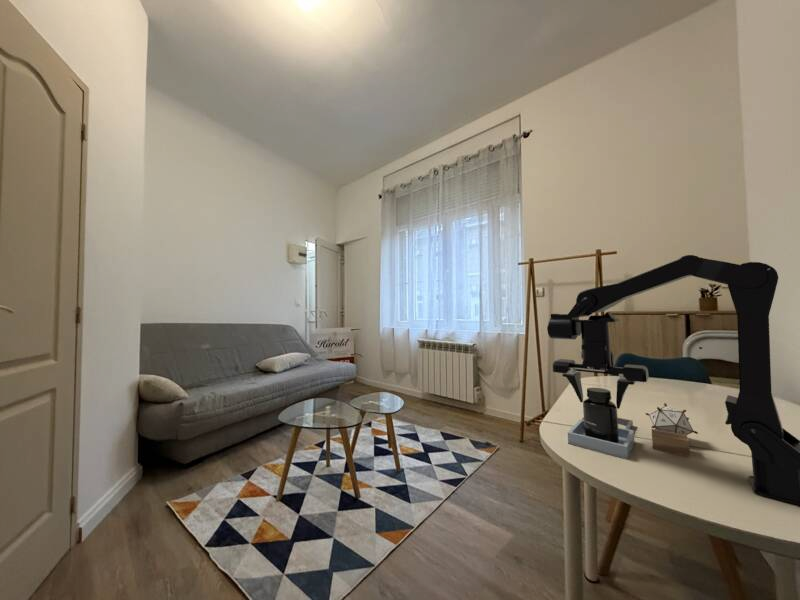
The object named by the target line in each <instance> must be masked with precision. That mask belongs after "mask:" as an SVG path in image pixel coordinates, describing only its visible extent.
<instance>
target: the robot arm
mask: <svg viewBox="0 0 800 600" xmlns="http://www.w3.org/2000/svg"><path fill="white" fill-rule="evenodd" d="M689 277H695V278H699V279H703V280H708V281H712V282H716V283H720V284H723V285H727V287H728V291H729V293H730V298H731V301H732V304H733V307H734V310H735V312H736V319H737V346H738V349H737V350H738V351H737V352H738V353H737V354H738V377H739V378H738V380H739V381H738V382H739V392H738V395H737V396H732V395H729V394H728V395H727V396H726V398H725V401H724V404H725V408H726V412H727V415H726V419H725V422H724V423H725V425H730V429H731V432H732V434H733V435H734V437H736V439H738V440H739V441H740V442H741V443H743V444H745V445H747V447H748V448H749V450H750V452H751V455H750V456H751V462H752V463H751V464H752V465H751V467H752V475H748V476H747V479H748V481H749V485H750V487H751V490H752V492H753V493H754V494H756V495H760V496H763V497H765V498H766V497H767V498H770V499H774V500H779V501H782V502H786V503H788V504H789V503H790V504H794V505H796V506H797V505H798V506H800V439H798V438H797V437H796V436H794V435H793V434H791V433H790V432H789V431H787V430H786V429H785V428H784V427H783V424H782V421H781V418H780V415H779V411H778V408H777V405H776V402H775V399H774V395H773V393H772V375H771V374H772V373H771V372H772V371H771V341H770V340H771V338H770V317H769V316H770V312H771V309H772V305H773V301H774V297H775V294H776V290H777V286H778V281H779V274H778V272H777V270H776V269H775V268H774V267H773V266H771V265H769V264H767V263H763V262H759V261H748V262H743V263H741V264H738V263H733V262H728V261H722V260H717V259H710V258H704V257H699V256H698V255H694V254H686V255H683V256H681V257H679V258H678V259H676V260H674V261H671V262H668V263H665V264H663V265H661V266H658V267H656V268H652V269H650V270H648V271H645V272H642V273H640V274H638V275H635V276H632V277H630V278H627V279H625V280H621V281H620V282H616V283H612V284H609V285H608V284H607V285H602V286H597V287H592V288H589V289H584V290H582V291H580V292H579V293H578V294H577V297H576V300H575V302H576V303H575V304H573V305H574V306H572V308H571V309H570V311H569V312H568V313H567V314H563V313H551V314H550V318H549V320H548V323H547V328H546V329H547V334H548V337H549V338H551V339H553V340H554V339H556V340H557V339H558V340H576V339H577V338H578V337H579V336H581V355H580V356H581V359H582V363H576V361H575V360H574V359H566V358H565V359H563V358H559V359H556V360H555V361H553V363H552V372H553V373H559V374H562V377H564V378H566V379H567V380H568V382H569V384H570V385H571V386H572V388H573V391H574V392H575V394H576V396H577V398H578V401H579V402H580V403H583V402H584V392H583V385H582V380H581V379H582V378H581V377H582V372H585V373H594V374H604V375H605V374H606V375H614V376H618V377H619V378H618V379H617V381H616V396H615V397H616V400H615V401H616V403H615V405H616V407H617V410H618V409H620V408H621V406H622V402H623V400H624V399H623V398H624V396H625V393H626V391H627V389H628V387H629V386H630V385H631V386H632V385H633V386H634V385H635V383H637V382H638V383H639V382H640V383H646V382H647V381H648V380H649V377H650V376H649V369H648V367H647V366H646V365H640V364H639V365H638V364H626V363H625V364H624V366H623V367H622V366H621V367H620V366H615V353H614V352H613V351H612V350H611V342H610V341H611V340H610V325H609V323H616V322H617V323H618V322H620V319H619V318H618V317H616V316H615V315H614V314H613V313H612V312H610V311H607V310H609V309H611V308H613V307H615V306H616V305H618V304H620V303H621V302H622V301H624V300H626V299H628V298H631V297H634V296H636V295H640V294H643V293H646V292H649V291H651V290H654V289H657V288H660V287H663V286H667V285H669V284H672V283H674V282H678V281H680V280H683V279H686V278H689ZM605 311H606V312H605ZM603 312H605V313H604V314H603V315H601V314H600V313H603ZM596 313H597V315H593V314H596ZM598 314H600V315H598ZM584 317H585V318H587V317H588V319H580V318H584Z"/></svg>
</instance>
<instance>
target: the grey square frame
mask: <svg viewBox="0 0 800 600" xmlns="http://www.w3.org/2000/svg"><path fill="white" fill-rule="evenodd" d="M580 420H584V416H583V417H582V418H581V419H580ZM633 423H634V421H633V420H631V419H626V418H622V417H618V425H622V426H625V429H628V430H633V427H634V424H633Z"/></svg>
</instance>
